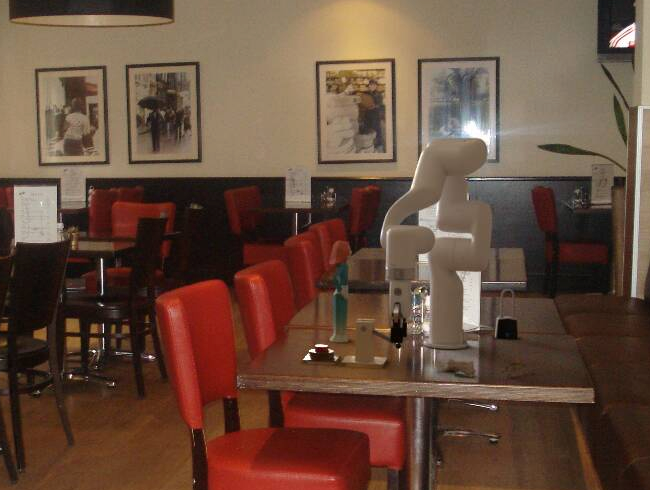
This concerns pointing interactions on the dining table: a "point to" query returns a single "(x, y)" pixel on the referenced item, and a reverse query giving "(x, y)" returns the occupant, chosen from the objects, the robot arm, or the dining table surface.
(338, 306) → the sculpture
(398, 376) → the dining table surface
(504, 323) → the padlock
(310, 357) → the button box
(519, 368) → the fish
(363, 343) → the bracket
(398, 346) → the lever
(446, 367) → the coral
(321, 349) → the button
